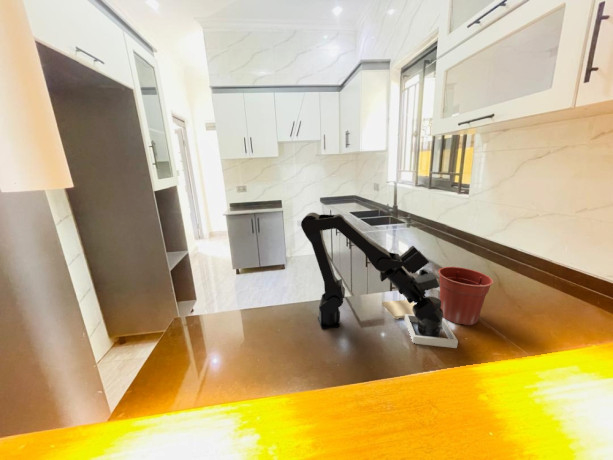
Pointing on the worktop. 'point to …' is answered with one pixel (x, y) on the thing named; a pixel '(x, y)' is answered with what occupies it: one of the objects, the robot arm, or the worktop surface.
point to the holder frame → (432, 341)
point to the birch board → (399, 308)
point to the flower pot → (462, 294)
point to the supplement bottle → (429, 326)
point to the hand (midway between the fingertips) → (435, 315)
